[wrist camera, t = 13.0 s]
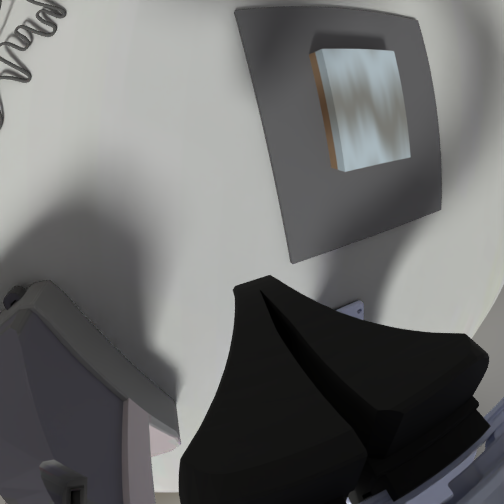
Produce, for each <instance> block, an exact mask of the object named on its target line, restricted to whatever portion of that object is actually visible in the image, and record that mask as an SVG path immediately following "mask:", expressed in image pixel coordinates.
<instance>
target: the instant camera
mask: <svg viewBox="0 0 504 504" xmlns="http://www.w3.org/2000/svg"><path fill="white" fill-rule="evenodd" d="M3 303H4V306H5V309H4V310H3V311H2V312H1V313H0V495H1V496H2V498H3V499H4V500H5V501H6V503H5V504H156V502H155V494H154V485H153V475H152V464H151V457H153V456H157V455H160V454H163V453H167V452H170V451H172V450H174V449H175V448H176V447H178V446H179V445H181V439H180V434H179V426H178V417H177V409H176V404H175V402H174V400H173V399H172V398H171V397H169V396H168V395H167V394H166V393H164V392H163V391H162V390H161V389H160V388H158V387H157V386H156V385H155V384H154V383H153V382H151V381H150V380H149V379H148V378H147V377H146V376H145V375H143V374H142V373H141V372H140V371H139V370H138V369H137V368H136V367H135V366H133V365H132V364H131V363H130V362H129V361H128V360H127V359H126V358H125V357H124V356H123V355H122V354H121V353H120V352H119V351H118V350H117V349H116V348H115V347H114V346H113V345H112V344H111V343H110V342H109V341H108V340H107V339H106V338H105V337H104V336H103V335H102V334H101V333H100V332H99V331H98V330H97V329H96V328H95V327H94V326H93V325H92V324H91V323H90V322H89V320H88V319H87V318H86V317H85V316H84V315H83V314H82V313H81V312H80V310H79V309H78V308H77V307H76V306H75V305H74V304H73V302H72V301H71V300H70V299H69V298H68V296H67V295H66V294H65V293H64V292H63V291H62V290H60V289H59V288H58V287H57V286H56V285H55V284H54V283H53V282H51V281H50V280H46V281H41V282H35V283H34V284H32V285H31V286H30V287H29V288H28V289H26V290H25V289H24V288H23V287H20V286H17V287H14V288H13V289H12V290H11V291H9V292H8V294H7V295H6V297H5V298H4V302H3Z"/></svg>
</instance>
